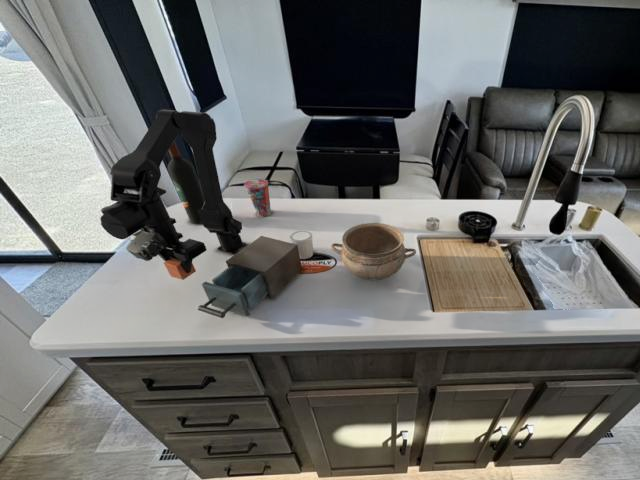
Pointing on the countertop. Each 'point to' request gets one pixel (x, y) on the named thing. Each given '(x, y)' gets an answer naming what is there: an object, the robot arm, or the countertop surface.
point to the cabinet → (270, 262)
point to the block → (177, 269)
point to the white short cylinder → (303, 243)
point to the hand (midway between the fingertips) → (182, 270)
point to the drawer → (234, 291)
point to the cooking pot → (373, 250)
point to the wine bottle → (186, 184)
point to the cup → (259, 195)
